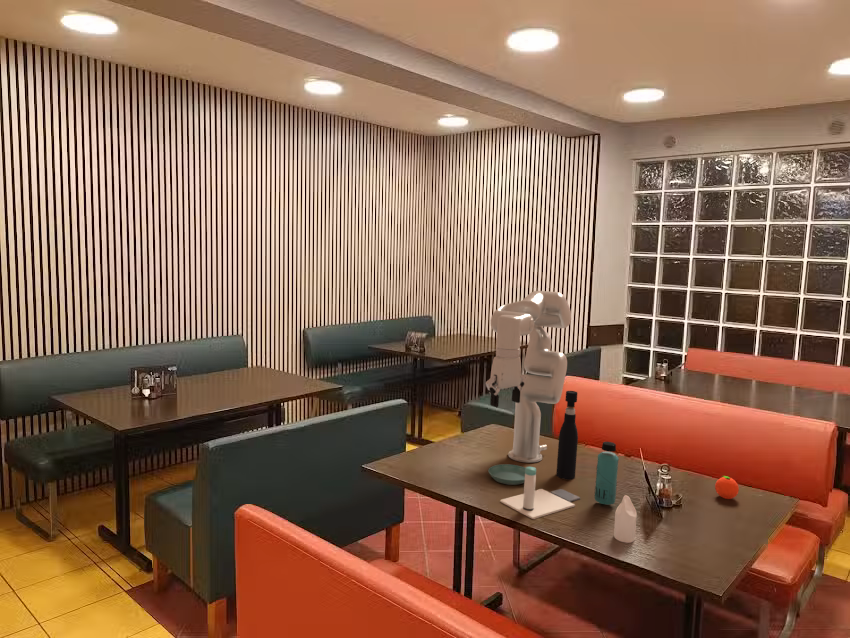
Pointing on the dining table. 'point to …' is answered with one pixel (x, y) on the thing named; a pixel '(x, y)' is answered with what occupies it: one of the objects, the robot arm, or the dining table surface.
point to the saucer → (508, 474)
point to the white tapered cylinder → (625, 521)
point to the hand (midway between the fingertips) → (505, 404)
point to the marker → (529, 488)
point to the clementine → (726, 487)
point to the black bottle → (568, 440)
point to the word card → (565, 495)
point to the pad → (539, 504)
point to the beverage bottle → (606, 475)
